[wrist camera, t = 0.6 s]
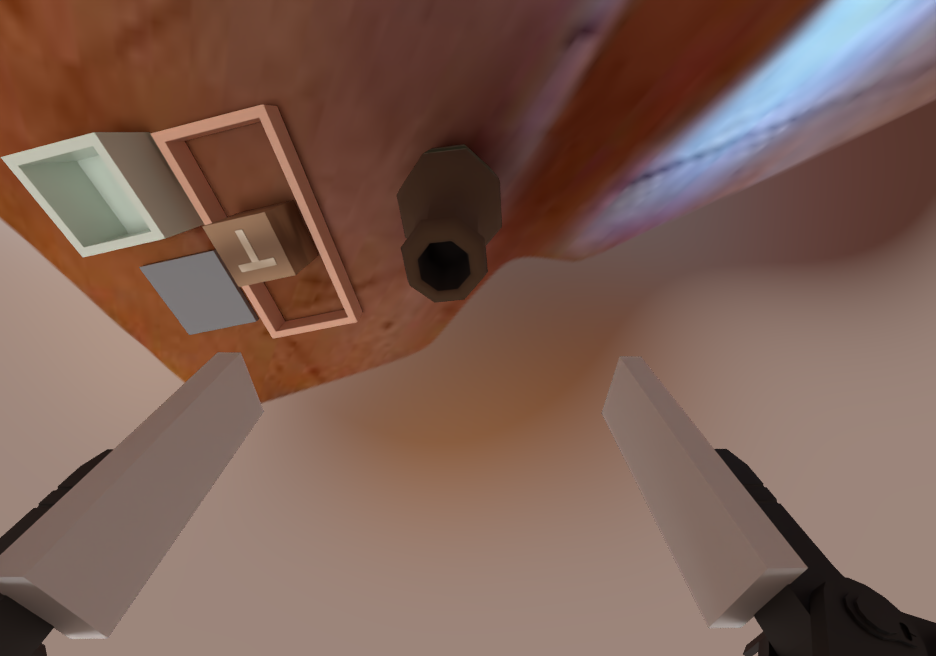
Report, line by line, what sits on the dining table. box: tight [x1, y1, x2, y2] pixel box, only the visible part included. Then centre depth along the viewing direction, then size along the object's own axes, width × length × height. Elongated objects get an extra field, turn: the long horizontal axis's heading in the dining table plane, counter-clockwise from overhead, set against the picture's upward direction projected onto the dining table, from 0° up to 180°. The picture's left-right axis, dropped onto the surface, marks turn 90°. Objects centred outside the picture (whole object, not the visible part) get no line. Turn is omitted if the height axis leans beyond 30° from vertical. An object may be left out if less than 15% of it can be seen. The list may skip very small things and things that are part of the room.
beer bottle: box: [397, 144, 502, 302], centre depth 24 cm, size 8×8×24 cm
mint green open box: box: [1, 132, 204, 257], centre depth 31 cm, size 9×9×6 cm
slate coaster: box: [139, 249, 259, 335], centre depth 39 cm, size 9×9×1 cm
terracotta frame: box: [151, 104, 362, 338], centre depth 35 cm, size 22×11×2 cm, turn 12°
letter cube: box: [202, 200, 318, 287], centre depth 34 cm, size 6×6×6 cm
